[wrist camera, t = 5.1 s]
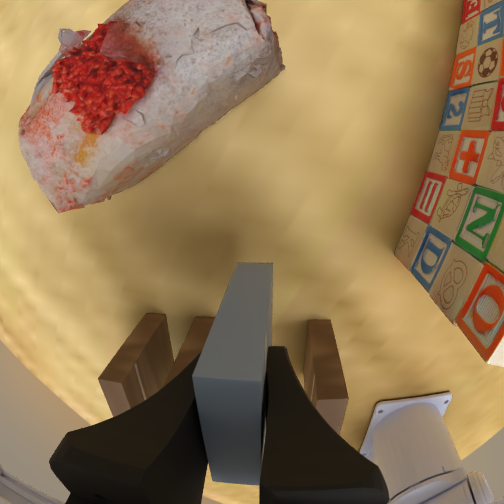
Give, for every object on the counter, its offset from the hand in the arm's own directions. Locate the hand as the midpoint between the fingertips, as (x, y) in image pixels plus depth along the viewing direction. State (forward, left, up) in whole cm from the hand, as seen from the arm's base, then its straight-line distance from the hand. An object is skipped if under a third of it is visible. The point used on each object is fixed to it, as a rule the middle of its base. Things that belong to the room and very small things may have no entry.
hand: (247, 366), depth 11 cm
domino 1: (-6, +8, -10) cm, 14 cm away
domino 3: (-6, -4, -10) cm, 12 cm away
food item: (+12, +6, -10) cm, 16 cm away
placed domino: (0, 0, -4) cm, 4 cm away
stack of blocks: (+10, -15, -10) cm, 21 cm away
